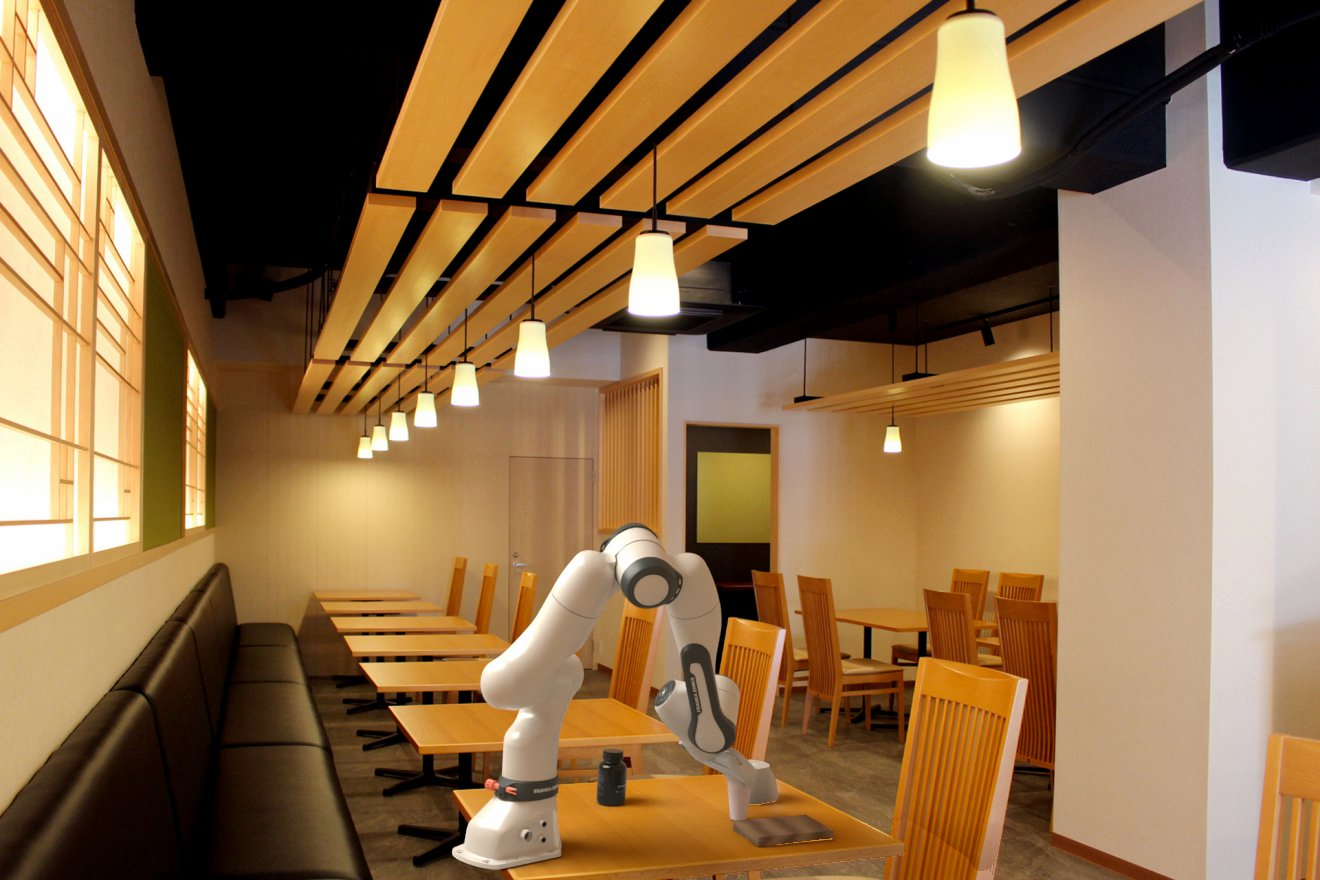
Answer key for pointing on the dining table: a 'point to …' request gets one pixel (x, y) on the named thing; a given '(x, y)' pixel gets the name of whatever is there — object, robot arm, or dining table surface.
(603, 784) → the supplement bottle
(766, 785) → the toilet tissue
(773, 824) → the walnut board
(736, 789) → the smoothie
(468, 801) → the dining table surface
